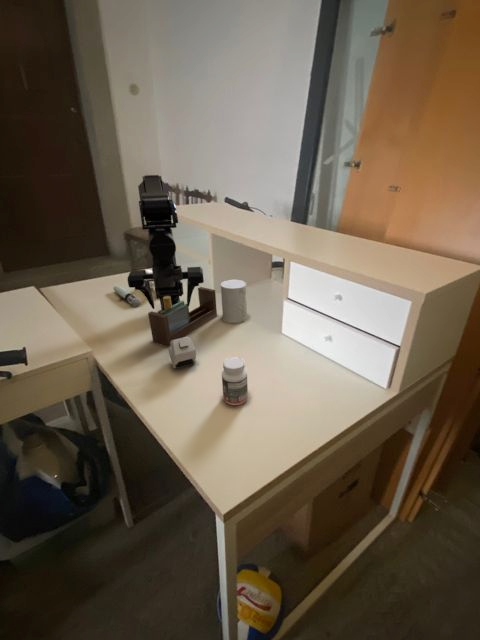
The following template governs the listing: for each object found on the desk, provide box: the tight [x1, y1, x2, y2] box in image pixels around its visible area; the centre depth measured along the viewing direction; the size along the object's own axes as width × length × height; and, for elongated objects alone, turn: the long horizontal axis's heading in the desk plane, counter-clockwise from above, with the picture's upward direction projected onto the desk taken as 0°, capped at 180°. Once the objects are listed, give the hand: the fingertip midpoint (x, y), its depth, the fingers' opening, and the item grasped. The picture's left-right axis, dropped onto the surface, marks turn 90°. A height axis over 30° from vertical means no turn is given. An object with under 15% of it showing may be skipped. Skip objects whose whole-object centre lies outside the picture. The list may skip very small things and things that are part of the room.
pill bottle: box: [221, 356, 249, 406], centre depth 79 cm, size 6×6×10 cm
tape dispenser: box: [168, 336, 197, 369], centre depth 92 cm, size 6×7×10 cm
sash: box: [160, 296, 185, 315], centre depth 106 cm, size 2×10×10 cm, turn 150°
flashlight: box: [113, 285, 141, 308], centre depth 132 cm, size 3×4×20 cm
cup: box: [220, 279, 248, 324], centre depth 116 cm, size 8×8×12 cm
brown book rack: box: [147, 286, 218, 348], centre depth 110 cm, size 6×24×10 cm, turn 150°
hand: (171, 307), depth 96 cm, fingers open, 9 cm apart
